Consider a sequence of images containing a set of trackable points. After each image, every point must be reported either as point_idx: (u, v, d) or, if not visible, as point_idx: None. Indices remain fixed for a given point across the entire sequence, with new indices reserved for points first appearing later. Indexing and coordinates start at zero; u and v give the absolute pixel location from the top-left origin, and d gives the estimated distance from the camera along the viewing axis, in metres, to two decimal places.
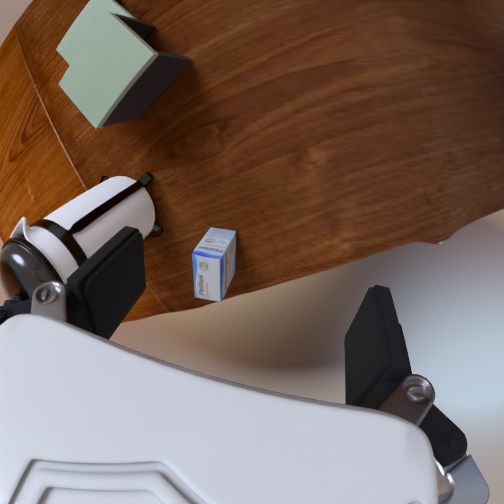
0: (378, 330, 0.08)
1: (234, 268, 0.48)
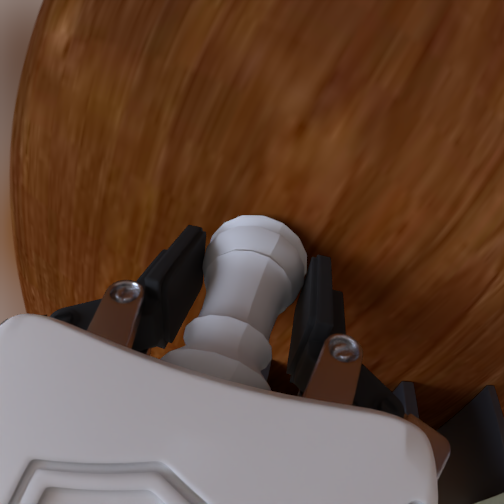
0: (310, 292, 0.09)
1: None
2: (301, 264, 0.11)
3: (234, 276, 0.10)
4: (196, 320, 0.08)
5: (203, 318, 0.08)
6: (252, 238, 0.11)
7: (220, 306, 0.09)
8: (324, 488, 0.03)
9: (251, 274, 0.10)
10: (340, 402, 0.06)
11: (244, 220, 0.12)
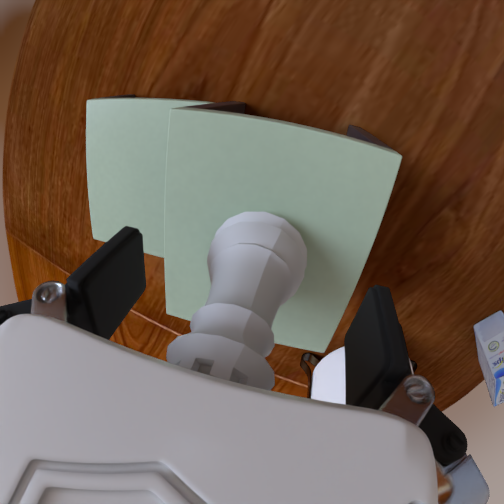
0: (378, 330, 0.08)
1: None
2: (301, 258, 0.12)
3: (238, 268, 0.10)
4: (203, 308, 0.09)
5: (209, 306, 0.09)
6: (255, 232, 0.11)
7: (226, 296, 0.09)
8: (324, 488, 0.03)
9: (254, 266, 0.10)
10: None
11: (247, 216, 0.12)
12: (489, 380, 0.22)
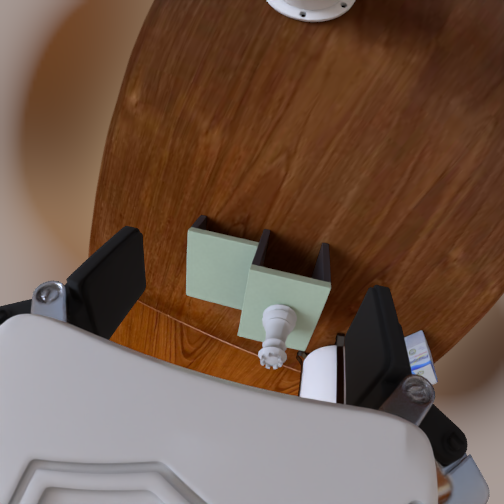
0: (378, 330, 0.08)
1: None
2: (294, 320, 0.35)
3: (275, 326, 0.34)
4: (267, 339, 0.32)
5: (269, 339, 0.32)
6: (280, 314, 0.35)
7: (273, 335, 0.33)
8: (324, 488, 0.03)
9: (280, 325, 0.34)
10: None
11: (276, 306, 0.36)
12: None
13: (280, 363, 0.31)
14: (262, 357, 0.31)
